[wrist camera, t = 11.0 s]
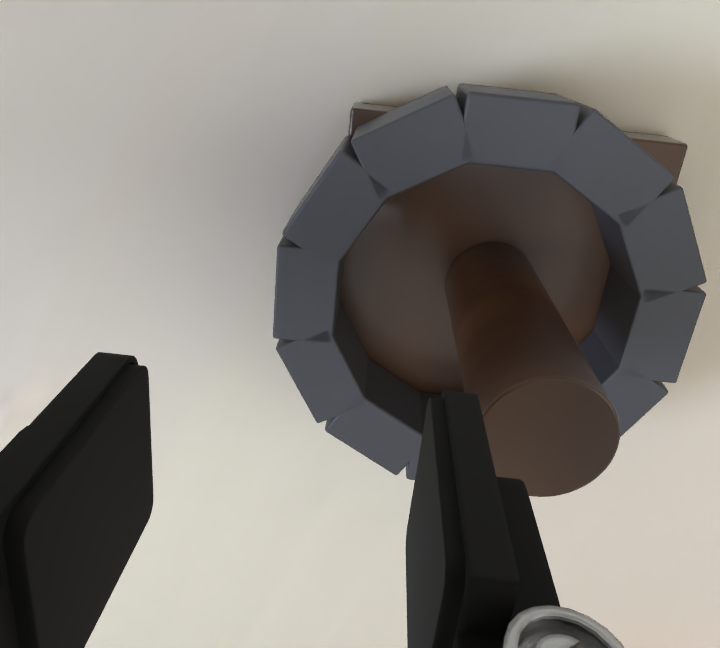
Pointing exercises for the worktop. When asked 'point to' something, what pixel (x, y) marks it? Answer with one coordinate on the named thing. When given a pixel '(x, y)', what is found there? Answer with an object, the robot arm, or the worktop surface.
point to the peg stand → (495, 307)
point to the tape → (501, 149)
